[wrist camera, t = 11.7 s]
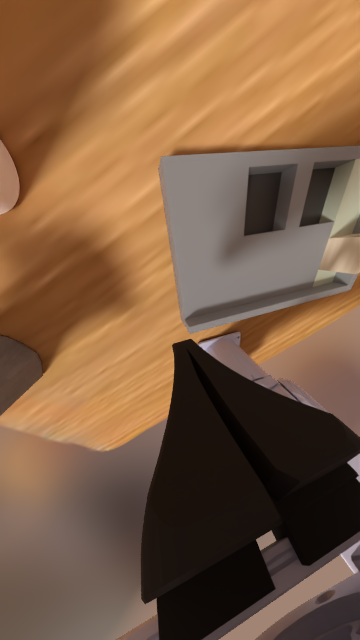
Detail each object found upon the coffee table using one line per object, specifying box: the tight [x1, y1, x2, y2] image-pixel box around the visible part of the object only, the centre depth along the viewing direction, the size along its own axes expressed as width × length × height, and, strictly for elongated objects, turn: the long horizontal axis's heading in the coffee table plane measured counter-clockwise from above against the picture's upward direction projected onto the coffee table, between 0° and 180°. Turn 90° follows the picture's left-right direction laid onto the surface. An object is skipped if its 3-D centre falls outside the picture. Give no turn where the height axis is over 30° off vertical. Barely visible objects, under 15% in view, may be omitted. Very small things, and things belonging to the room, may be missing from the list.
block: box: [318, 234, 360, 274], centre depth 18 cm, size 4×4×4 cm
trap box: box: [158, 145, 360, 334], centre depth 17 cm, size 16×26×4 cm, turn 97°
